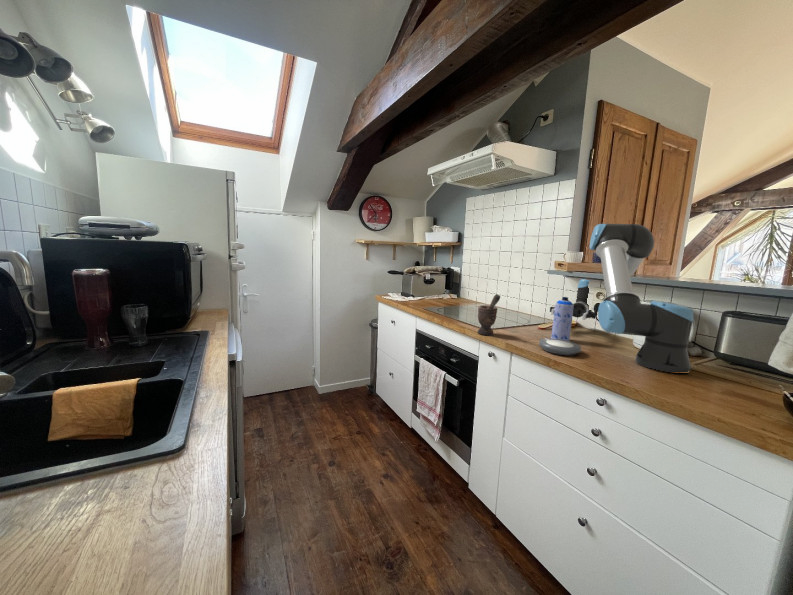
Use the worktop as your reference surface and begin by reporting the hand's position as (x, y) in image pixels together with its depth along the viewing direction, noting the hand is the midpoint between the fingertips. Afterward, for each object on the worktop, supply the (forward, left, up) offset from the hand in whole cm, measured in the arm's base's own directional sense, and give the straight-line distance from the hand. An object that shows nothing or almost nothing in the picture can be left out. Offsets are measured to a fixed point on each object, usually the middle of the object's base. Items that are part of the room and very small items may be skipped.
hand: (567, 314), depth 146 cm
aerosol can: (-4, +8, -11) cm, 14 cm away
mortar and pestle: (+12, +36, -11) cm, 39 cm away
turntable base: (-16, +23, -11) cm, 30 cm away
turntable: (-16, +23, -9) cm, 29 cm away
